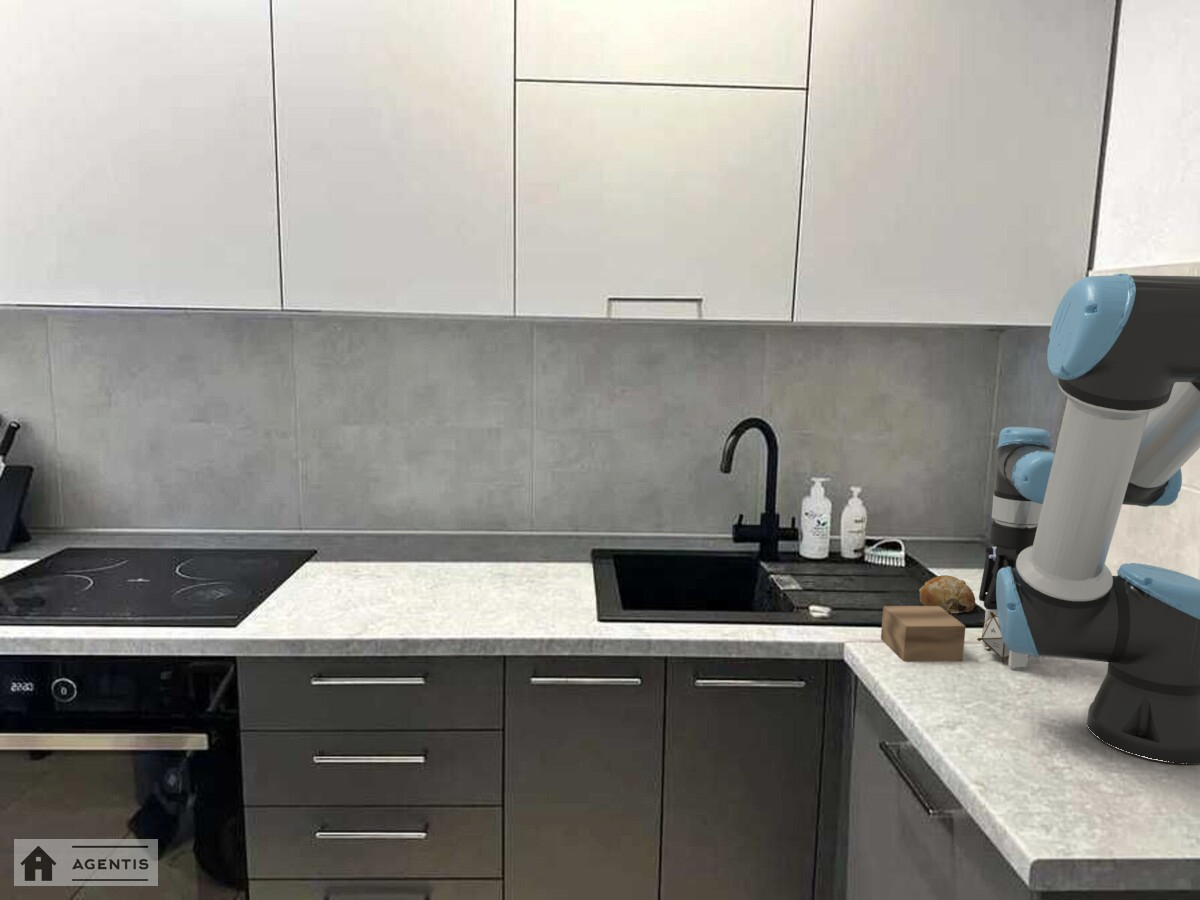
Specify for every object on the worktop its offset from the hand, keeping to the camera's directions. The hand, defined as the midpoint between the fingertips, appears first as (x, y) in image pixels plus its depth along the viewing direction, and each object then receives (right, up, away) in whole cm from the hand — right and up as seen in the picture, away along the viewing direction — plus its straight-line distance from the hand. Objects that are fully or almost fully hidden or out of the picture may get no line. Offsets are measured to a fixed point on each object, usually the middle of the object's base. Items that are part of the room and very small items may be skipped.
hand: (1004, 655), depth 150 cm
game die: (0, 0, 0) cm, 1 cm away
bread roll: (0, +3, +26) cm, 27 cm away
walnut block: (-13, 0, +3) cm, 13 cm away
